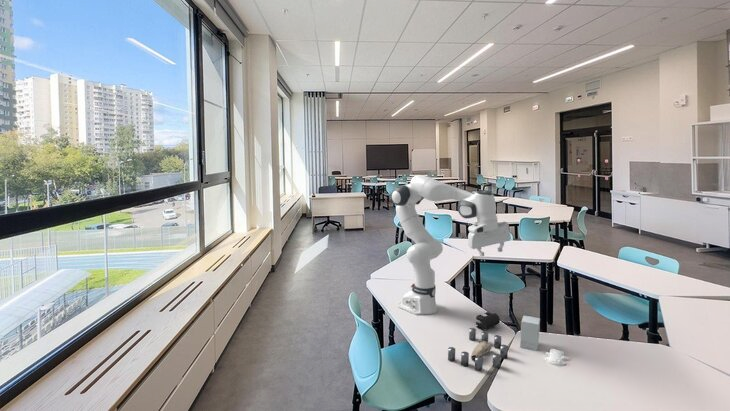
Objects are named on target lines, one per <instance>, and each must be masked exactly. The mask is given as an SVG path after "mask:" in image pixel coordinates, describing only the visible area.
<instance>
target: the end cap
mask: <svg viewBox="0 0 730 411" xmlns="http://www.w3.org/2000/svg"><path fill="white" fill-rule="evenodd" d="M483 314H484V315H483ZM483 314H478V315H476V316H475V320H477V321H475V325H476V326H475V328H477V329H479V330H481V331H482V332H483V331H486V330H488V329H491V328H493V327H496V326H498V325H499V324H500V322H501V319H500V316H499V315H498V314H497V313H495V312H494V313H491V312H490V311H489V312H488V311H486V312H484V313H483ZM478 321H479V322H478Z"/></svg>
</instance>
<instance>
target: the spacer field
mask: <svg viewBox="0 0 730 411" xmlns="http://www.w3.org/2000/svg"><path fill="white" fill-rule="evenodd" d="M476 337H477V329H476V327H470V328H468V339H469V341H471V342H472V341H474V342H475V341H476V340H477V338H476ZM502 338H503V337H502V336H501V335H499V334H498V335H497V334H496V335H494V338H493V339H494V340H493V341H494V343H493V348H495V349H497V350H500V351H499V352H500V354H499V353H497V352H496V353H493V354H492V368H494V369H500V368H501V359H503V360H506V359H508V353H509V352H508V350H509V346H508V345H507V344H504V343H503V344H502ZM483 341H485V342H487V343H489V332H488V331H486V330H484V331H483V330H482V331H481V340H480V342H483ZM447 351H448V352H447V356H448V357H447V360H448V361H449V362H453V363H454V362H455V361H456V348H455V347H453V346H450V347H448V348H447ZM460 353H461V355H460V356H461V359H460V360H461V361H460V365H461V366H463V367H468V366H469V362H470V361H469V356H470V355H469V353H470V352H467V351H461V352H460ZM483 359H484V358H483V356H482V357H480V356H476V355H475V356H474V371H476V372H483V363H484V362H483V361H484V360H483Z"/></svg>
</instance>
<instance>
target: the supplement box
mask: <svg viewBox="0 0 730 411" xmlns="http://www.w3.org/2000/svg"><path fill="white" fill-rule="evenodd" d="M540 323H541V318H540V317H534V316H530V315H529V316H528V315H523V316H522V319H521V325H520V341H519V342H520V343H519V348H521V349H525V350H531V351H538V346H539V338H540V325H541V324H540Z"/></svg>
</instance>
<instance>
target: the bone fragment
mask: <svg viewBox="0 0 730 411" xmlns="http://www.w3.org/2000/svg"><path fill="white" fill-rule="evenodd" d="M492 347H493V346H492V344H490V342H488V343H487V342H485V341H483V342H481V341H480V342H479V343H478V344H477V345H476V346H474V348H473V350H472V352H471V355H470V359H471V360H472V361H474V360H475V357H476V356H480V357H482V358H483V355H485V354H487V353H488V352H489V351H491V350H492Z"/></svg>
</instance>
